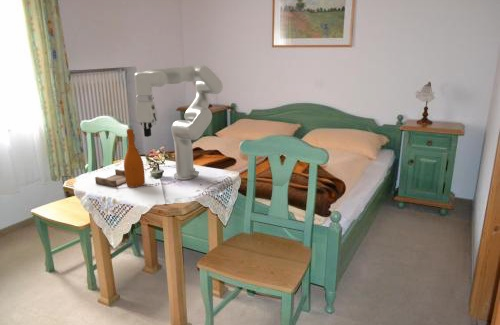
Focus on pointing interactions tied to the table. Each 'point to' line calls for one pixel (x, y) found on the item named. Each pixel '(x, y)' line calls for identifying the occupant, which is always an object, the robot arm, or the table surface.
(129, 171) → the wine bottle
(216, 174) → the table surface
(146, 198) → the table surface
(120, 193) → the table surface
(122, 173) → the u rest
